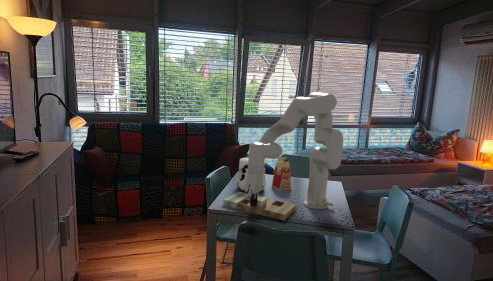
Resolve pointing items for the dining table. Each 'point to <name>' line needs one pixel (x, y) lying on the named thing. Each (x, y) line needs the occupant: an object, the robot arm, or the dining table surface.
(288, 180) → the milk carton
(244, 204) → the wooden puzzle board
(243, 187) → the milk container
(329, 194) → the dining table surface
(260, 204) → the block
